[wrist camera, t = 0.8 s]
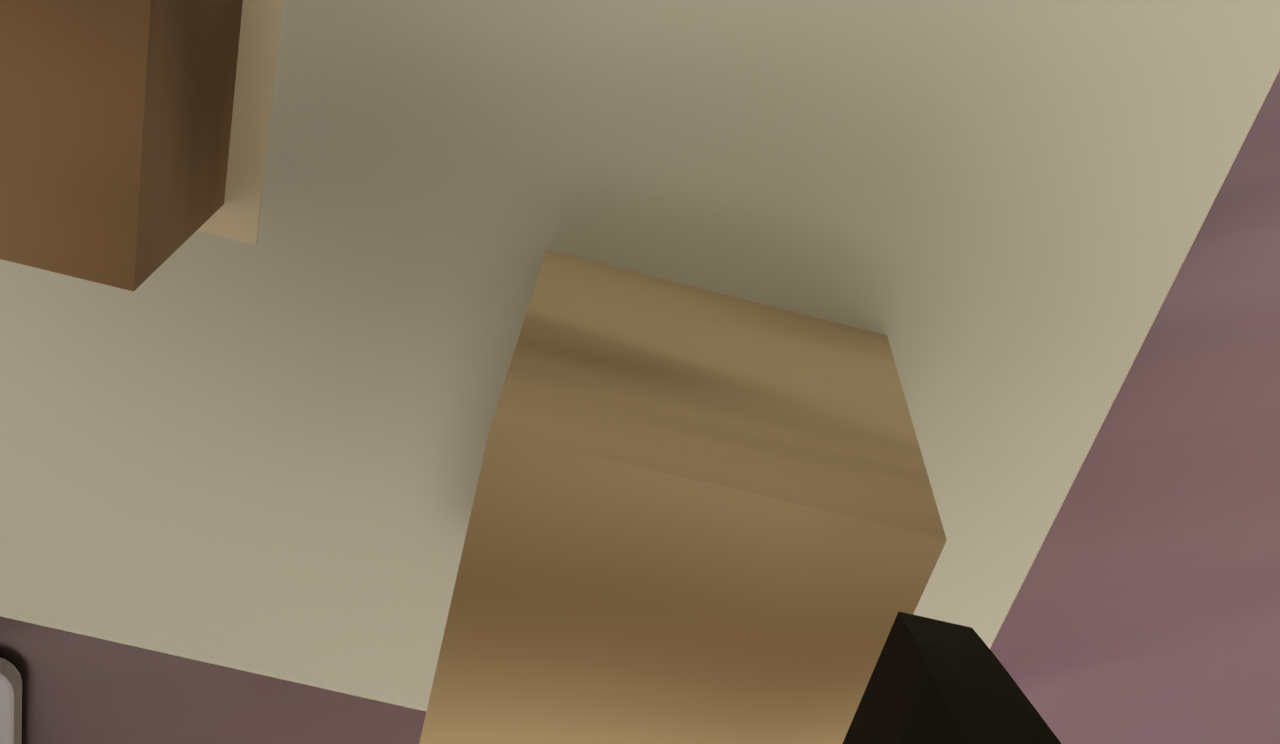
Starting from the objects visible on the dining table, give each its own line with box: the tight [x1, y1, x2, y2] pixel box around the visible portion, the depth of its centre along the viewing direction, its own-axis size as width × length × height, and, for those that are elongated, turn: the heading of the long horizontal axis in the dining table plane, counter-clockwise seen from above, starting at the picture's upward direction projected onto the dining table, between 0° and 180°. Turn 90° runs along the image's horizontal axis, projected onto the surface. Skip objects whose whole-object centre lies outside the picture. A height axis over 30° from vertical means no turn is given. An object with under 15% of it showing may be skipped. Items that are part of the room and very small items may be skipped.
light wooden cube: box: [419, 250, 947, 744], centre depth 16 cm, size 5×5×5 cm
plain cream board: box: [0, 0, 1280, 711], centre depth 17 cm, size 19×22×1 cm
